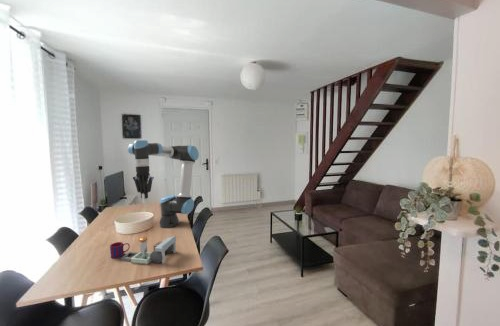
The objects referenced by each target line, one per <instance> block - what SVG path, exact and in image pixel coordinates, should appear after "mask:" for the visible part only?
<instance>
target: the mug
mask: <svg viewBox="0 0 500 326" xmlns="http://www.w3.org/2000/svg"><path fill="white" fill-rule="evenodd" d="M126 245H128V247H127V249H126V250H124V249H125V248H124V246H126ZM130 247H131V246H130V243H128V242H125V243H124V242H123V241H118V242H113V243H111V244H110V246H109V251H110V258H111V259H117V258H118V259H119V258H121V257H123V256H124V255H125V253H127V252H128V251H129V250H130Z"/></svg>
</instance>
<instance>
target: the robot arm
mask: <svg viewBox="0 0 500 326" xmlns="http://www.w3.org/2000/svg"><path fill="white" fill-rule="evenodd" d="M127 152H128V153H129V154H130V155H134V160H135V161H134V162H135V173H136V174H135V176H134V177H132V179H133V181H134V184H135V187H136V191H137V193H140V198H141V200H142V205H146V204H148V198H149V193H150V192H151V191H152V186H153V180H154V176H152V175H151V174H150V158H149V157H151V156H154V157H165V158H167V159H172V160H178V161H179V162H180V164H181V168H180V178H179V188H178V194H177V195H175V194H174V195H167V196H163V197H162V198H160V215H161V216H160V220H159V227H160V228H164V229H166V228H167V229H169V228H175V227H176V226H179V224H180V219H179V217H178V215H177V214H180V215H181V214H183V215H188V214H190V213H192V211H193V210H194V206H195V202H194V200H193V199H192V195H191V185H192V178H193V177H192V175H193V167H194V166H193V165H194V164H195V163H196V161H197V160H198V159H199V156H200V155H199V153H200V152H199V150H198V147H196V146H195V145H189V144H188V145H172V146H171V145H167V146H163V145H162V144H161V143H159V142H152V143H151V142H150V143H149V141H148V140H134V142H133V143H130V144H129V145H128V146H127Z"/></svg>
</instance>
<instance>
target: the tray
mask: <svg viewBox="0 0 500 326" xmlns="http://www.w3.org/2000/svg"><path fill="white" fill-rule="evenodd" d="M137 253H138V254H137V255H135V256H134V257H133V256H132V257H133V258H132V257H131V261H130V262H131V264H140V265H149V264H150V263H151V262H152V260H151V258H150V255H151V253H152V252H148V251H147V254H148V259H141V251H140V252H137Z"/></svg>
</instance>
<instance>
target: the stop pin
mask: <svg viewBox="0 0 500 326" xmlns="http://www.w3.org/2000/svg"><path fill="white" fill-rule="evenodd" d="M147 240H148V237H147V236H143V237H140V238H139V239H138V241H139V248H140V252H141V259H148V254H147V252H148V243H147Z"/></svg>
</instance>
